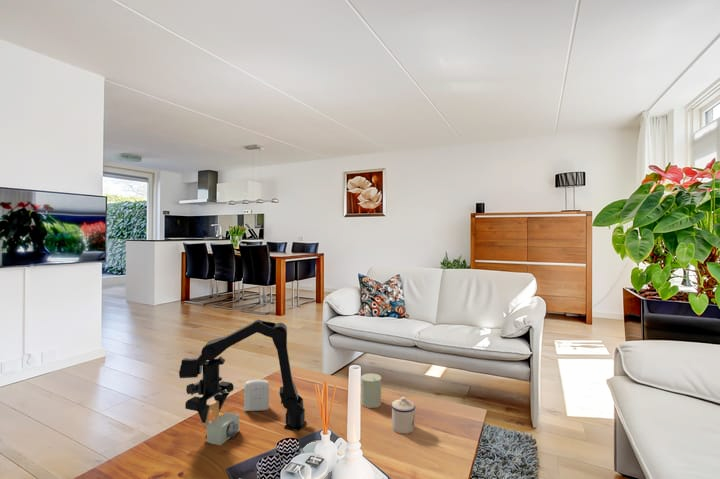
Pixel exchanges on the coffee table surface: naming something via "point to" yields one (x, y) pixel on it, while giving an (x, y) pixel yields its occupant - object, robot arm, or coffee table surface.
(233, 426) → the pin
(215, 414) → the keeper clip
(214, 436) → the block
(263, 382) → the photo printer
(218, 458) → the coffee table surface
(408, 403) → the teacup with lid
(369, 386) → the can
